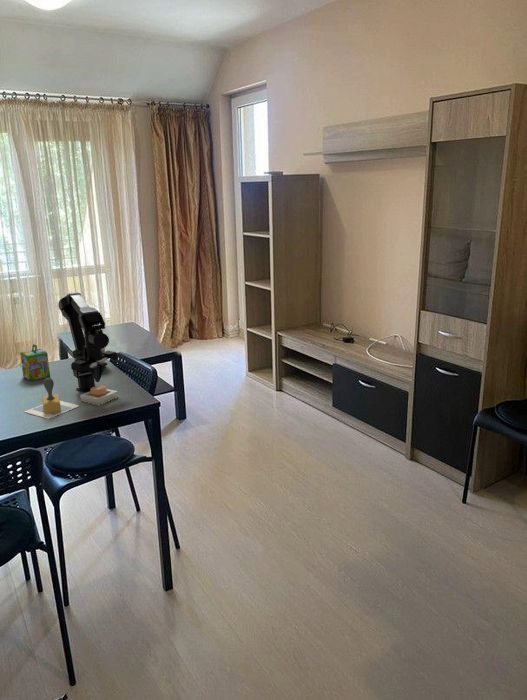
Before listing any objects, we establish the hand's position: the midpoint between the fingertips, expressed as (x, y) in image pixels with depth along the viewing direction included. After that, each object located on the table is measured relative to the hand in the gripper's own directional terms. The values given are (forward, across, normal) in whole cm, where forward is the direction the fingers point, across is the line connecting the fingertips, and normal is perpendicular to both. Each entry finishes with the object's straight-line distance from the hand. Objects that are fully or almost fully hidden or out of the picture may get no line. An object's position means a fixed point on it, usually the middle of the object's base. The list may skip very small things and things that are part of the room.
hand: (97, 381), depth 209 cm
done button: (+5, 0, 0) cm, 5 cm away
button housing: (+7, 0, 0) cm, 7 cm away
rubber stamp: (+7, +16, -8) cm, 19 cm away
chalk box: (+8, -7, -48) cm, 49 cm away
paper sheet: (+7, +16, -8) cm, 19 cm away
